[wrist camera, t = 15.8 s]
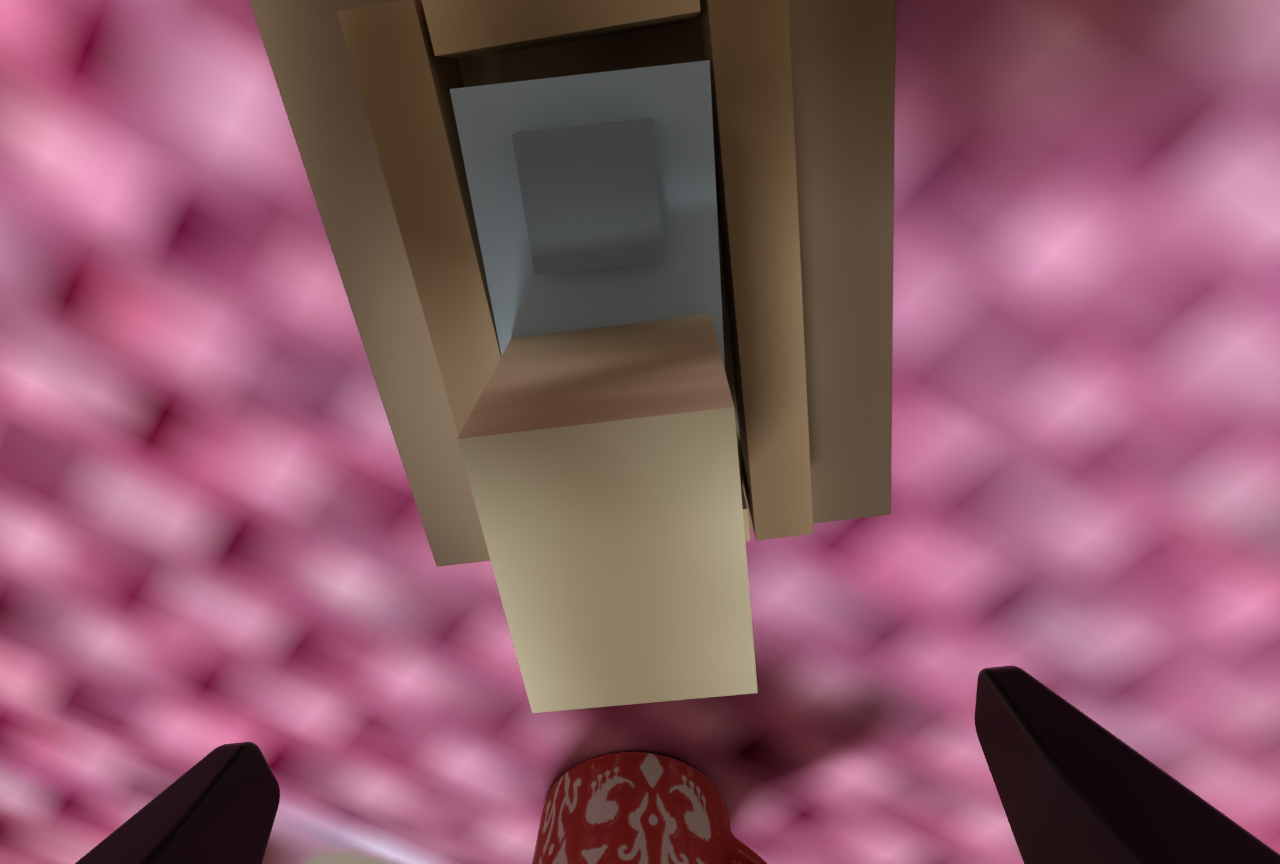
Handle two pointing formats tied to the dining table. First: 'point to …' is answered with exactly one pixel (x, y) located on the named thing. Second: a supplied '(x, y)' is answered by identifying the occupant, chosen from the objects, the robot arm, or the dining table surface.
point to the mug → (637, 815)
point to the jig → (746, 211)
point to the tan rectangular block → (615, 514)
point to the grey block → (594, 198)
